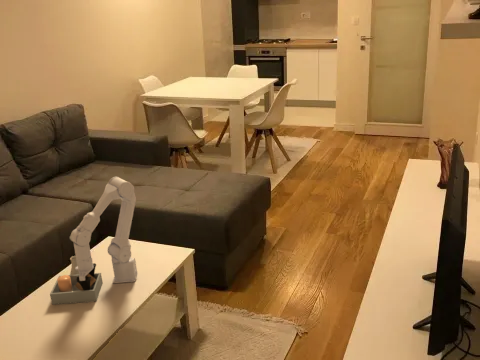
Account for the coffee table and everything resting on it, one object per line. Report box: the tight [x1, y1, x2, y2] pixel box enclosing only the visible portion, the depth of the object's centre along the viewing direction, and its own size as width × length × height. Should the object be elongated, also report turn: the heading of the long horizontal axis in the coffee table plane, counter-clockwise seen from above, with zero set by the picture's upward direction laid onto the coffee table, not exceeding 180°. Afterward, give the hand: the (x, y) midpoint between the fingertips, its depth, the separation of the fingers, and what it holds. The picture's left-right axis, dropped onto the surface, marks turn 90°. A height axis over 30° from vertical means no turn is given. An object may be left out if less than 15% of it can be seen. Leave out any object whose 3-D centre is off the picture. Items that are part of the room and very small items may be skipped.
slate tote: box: [49, 272, 104, 306], centre depth 212 cm, size 17×13×5 cm
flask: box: [69, 255, 79, 275], centre depth 222 cm, size 7×7×10 cm
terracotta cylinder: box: [56, 274, 73, 292], centre depth 211 cm, size 5×5×7 cm
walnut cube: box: [75, 273, 96, 291], centre depth 212 cm, size 5×5×5 cm
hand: (89, 286), depth 212 cm, fingers open, 7 cm apart
